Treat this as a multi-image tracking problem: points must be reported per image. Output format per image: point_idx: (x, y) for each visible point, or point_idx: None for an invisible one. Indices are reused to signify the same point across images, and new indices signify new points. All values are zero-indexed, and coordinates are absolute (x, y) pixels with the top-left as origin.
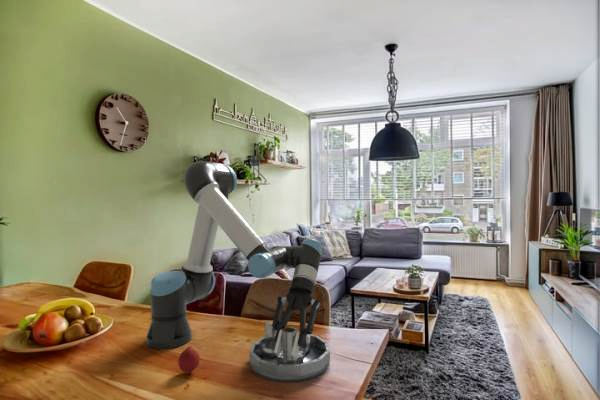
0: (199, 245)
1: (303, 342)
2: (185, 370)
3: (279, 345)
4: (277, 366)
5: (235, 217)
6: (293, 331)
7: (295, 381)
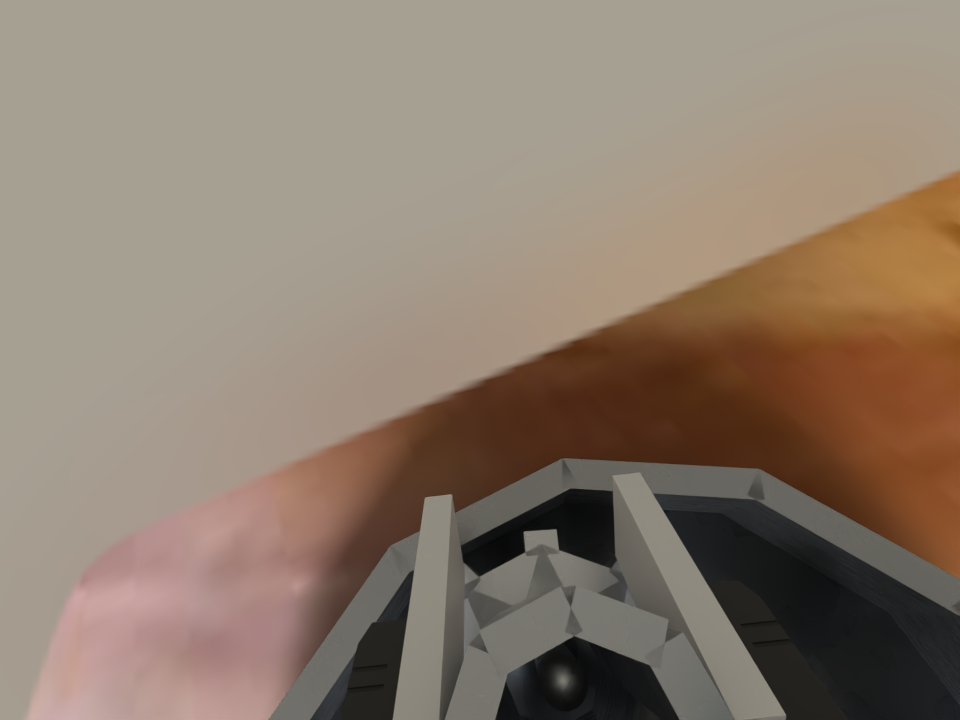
0: None
1: None
2: None
3: (642, 563)
4: (564, 459)
5: None
6: (482, 696)
7: None
